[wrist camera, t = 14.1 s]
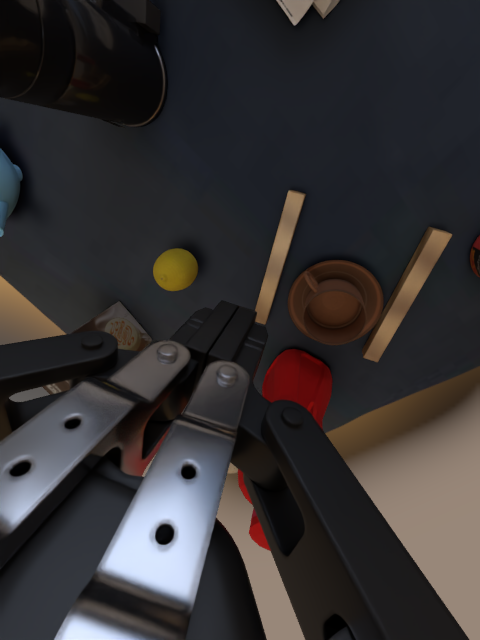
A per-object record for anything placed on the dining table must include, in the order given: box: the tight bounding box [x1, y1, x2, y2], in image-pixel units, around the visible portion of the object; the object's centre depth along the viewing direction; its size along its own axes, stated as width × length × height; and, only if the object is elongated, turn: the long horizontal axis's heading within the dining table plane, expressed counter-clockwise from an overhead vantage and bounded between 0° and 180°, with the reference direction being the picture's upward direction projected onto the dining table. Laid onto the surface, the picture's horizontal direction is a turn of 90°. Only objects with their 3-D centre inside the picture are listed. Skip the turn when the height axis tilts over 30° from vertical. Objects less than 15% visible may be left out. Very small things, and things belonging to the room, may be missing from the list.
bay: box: [255, 190, 452, 362], centre depth 38 cm, size 18×18×2 cm
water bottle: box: [238, 349, 332, 551], centre depth 36 cm, size 9×11×25 cm
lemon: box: [153, 248, 198, 291], centre depth 40 cm, size 6×6×8 cm
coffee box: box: [42, 301, 152, 395], centre depth 46 cm, size 9×6×16 cm
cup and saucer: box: [288, 260, 383, 345], centre depth 37 cm, size 12×12×6 cm
